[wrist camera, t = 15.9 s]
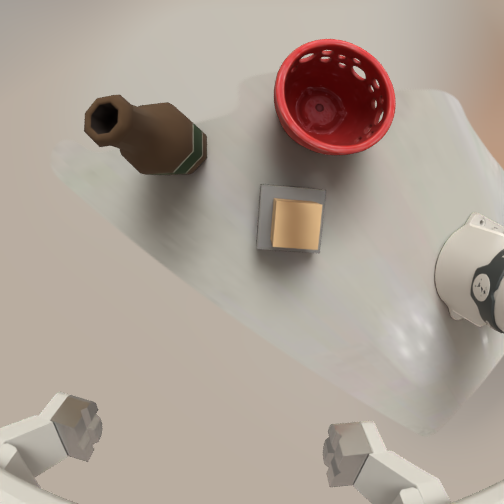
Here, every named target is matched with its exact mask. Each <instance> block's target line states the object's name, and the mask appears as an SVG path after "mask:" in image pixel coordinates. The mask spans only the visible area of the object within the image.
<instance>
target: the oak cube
mask: <svg viewBox="0 0 504 504" xmlns="http://www.w3.org/2000/svg"><path fill="white" fill-rule="evenodd" d="M321 215H322V204H319V203H316V202H313V201H303V200H291V199H279V198H274V199H273V212H272V225H271V237H270V239H271V242H272V245H273V247H283V248H297V249H312V250H318V244H319V234H320V225H321Z"/></svg>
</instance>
